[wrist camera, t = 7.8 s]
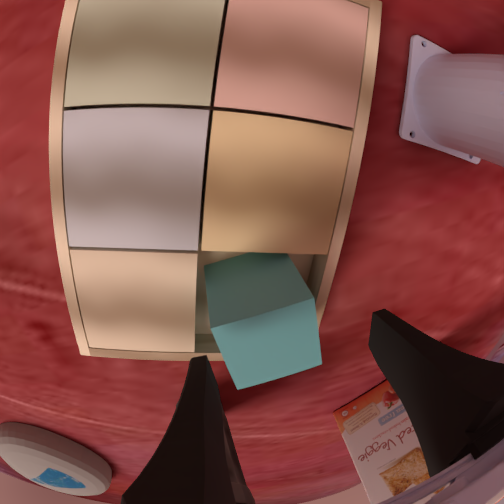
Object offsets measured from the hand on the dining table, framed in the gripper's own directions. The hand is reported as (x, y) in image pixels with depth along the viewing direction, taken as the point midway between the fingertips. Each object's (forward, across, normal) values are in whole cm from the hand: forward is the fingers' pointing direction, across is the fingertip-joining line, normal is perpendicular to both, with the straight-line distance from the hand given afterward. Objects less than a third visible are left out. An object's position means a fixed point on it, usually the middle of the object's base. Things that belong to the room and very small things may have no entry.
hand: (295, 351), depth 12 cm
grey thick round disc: (+10, +33, +26) cm, 43 cm away
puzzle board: (+9, +2, -6) cm, 11 cm away
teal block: (+8, +1, +2) cm, 9 cm away
